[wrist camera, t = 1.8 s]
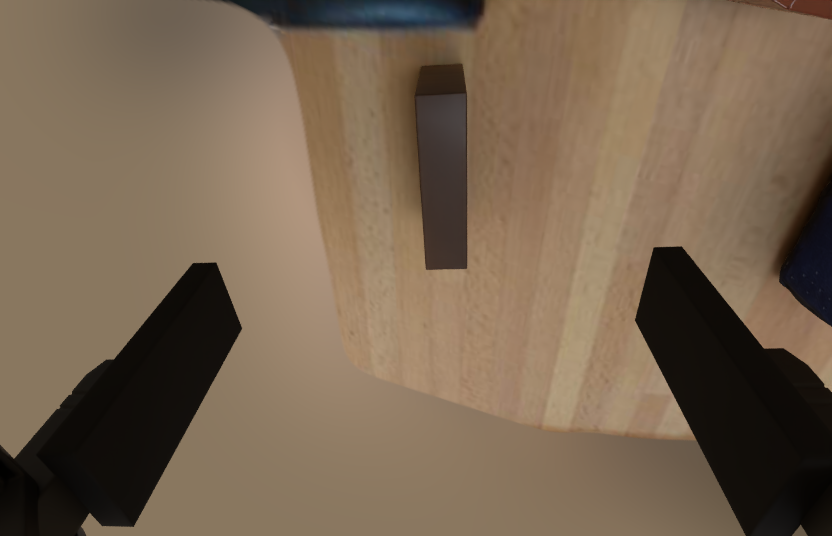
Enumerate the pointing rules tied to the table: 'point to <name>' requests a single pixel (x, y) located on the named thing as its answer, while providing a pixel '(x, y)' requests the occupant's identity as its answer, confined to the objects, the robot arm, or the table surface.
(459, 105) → the dark brown brick
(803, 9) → the bowl
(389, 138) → the table surface
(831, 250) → the blue rectangular block
